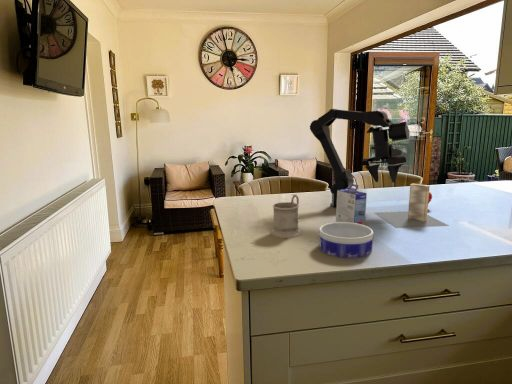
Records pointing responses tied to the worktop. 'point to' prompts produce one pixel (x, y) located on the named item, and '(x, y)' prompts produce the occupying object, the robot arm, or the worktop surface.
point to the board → (418, 202)
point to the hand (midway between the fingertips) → (385, 182)
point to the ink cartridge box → (351, 205)
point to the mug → (286, 219)
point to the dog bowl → (345, 239)
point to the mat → (407, 220)
